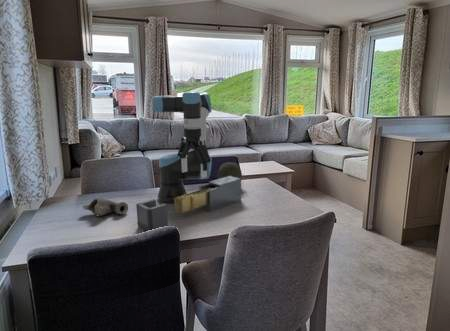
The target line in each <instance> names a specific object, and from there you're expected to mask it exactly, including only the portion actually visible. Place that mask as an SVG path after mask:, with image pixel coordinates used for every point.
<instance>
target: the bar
mask: <svg viewBox="0 0 450 331" xmlns="http://www.w3.org/2000/svg"><path fill="white" fill-rule="evenodd" d="M213 188H216V186H212V187H209V188H206V189H202V190H199V189H198V190H196V191H193V192H189V193H187V192H186V193H187V194H186V193H184V195H182V196H179V197H175V198H174V203H173V204H174V205H173V206H174V211H175V212H177V213H179V214H182V213H185V212H188V211H195V210H196V209H197V208H201V207H200V206H203V205H206V204H209V190H210V189H213Z"/></svg>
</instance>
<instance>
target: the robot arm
mask: <svg viewBox="0 0 450 331" xmlns="http://www.w3.org/2000/svg"><path fill="white" fill-rule="evenodd" d="M152 110H153V112H154V113H161V114H162V113H164V114H165V113H180V114H181V113H182V115H183V127H184V128H183V137H181V138H180V139H181V140H180V145H179V148H178V152H177V153H171V154H166V155H163V156H162V157H160V158H159V164H158V168H159V181H160V182H159V184H160V186H159V189H158V193H157V201H158V202H161V203H162V204H174V198H175V197H179V196H182V195H184V193H186V194H188V193H187V190H186V189H185V186H184V182H183V181H184V180H207V179H209V178H210V176H211V171H212V163H213V162H212V160H213V159H212V156H210V153H209V151H208V148H207V118H208V117H209V115H210V113H212V103H211V97H210V93H208V92H203V91H201V92H199V91H184V92H179V93H178V92H177V93H173V94H169V95H155V96H153V97H152Z"/></svg>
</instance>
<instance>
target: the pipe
mask: <svg viewBox="0 0 450 331" xmlns="http://www.w3.org/2000/svg"><path fill="white" fill-rule="evenodd" d="M82 209H84V210H86V211H89V212H91V213H92V214H93V215H94V216H95V215H96V216H95V217H101V216H105V214H106V215H108V213H109V214H112V213H116V214H117V215H119V214H120V215H119V216H122V215H121V214H124V215H125V213H126V214H127V213H128V211H129V205H128V203H126V202H124V201H121V202H117V201H114V200H113V201H112V200H109V199H105V198H101V197H100V198H99V197H97V198H94V199H93V200H92V201H91V202H90V203H88V204H84V205H82ZM97 215H98V216H97Z"/></svg>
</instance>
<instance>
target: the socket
mask: <svg viewBox="0 0 450 331" xmlns="http://www.w3.org/2000/svg"><path fill="white" fill-rule="evenodd" d="M167 205H168V203H162V204H159V205H158V204H157V200H156V199H155V198H153V199H149V200H144V201H142V202H138V203H136V204H135V206H136V217H137V218H136V219H137V228H138V227H140V228H141V229H140V228H139V229H140V230H142V229H143V230H144V231H143V230H142V231H143V232H145V231H148V230H152V229H156V228H159V227H164V226H168V227H169V222H168V209H167V208H168V206H167Z"/></svg>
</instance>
